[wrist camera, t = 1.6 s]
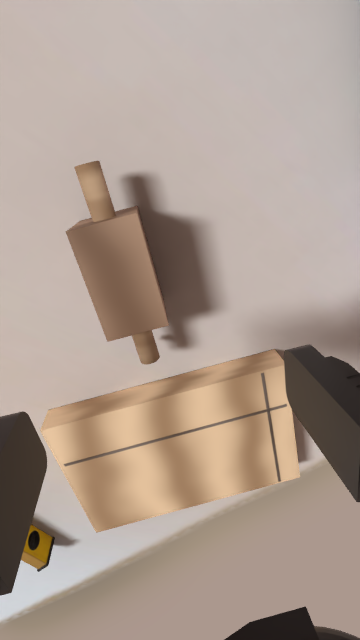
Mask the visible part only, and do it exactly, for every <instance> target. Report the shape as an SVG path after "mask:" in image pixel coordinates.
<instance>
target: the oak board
mask: <svg viewBox="0 0 360 640" xmlns="http://www.w3.org/2000/svg"><path fill="white" fill-rule="evenodd" d="M40 431H41V433H42V435H43V437H44V438H45V440H46V442H47V444H48V446H49V448H50V449H51V451H52V453H53V455H54V457H55V458H56V460H57V462H58V464H59V466H60V468H61V469H62V471H63V473H64V475H65V477H66V478H67V480H68V482H69V484H70V486H71V487H72V489H73V491H74V493H75V495H76V497H77V498H78V500H79V502H80V504H81V506H82V507H83V509H84V511H85V513H86V515H87V517H88V518H89V520H90V522H91V524H92V526H93V527H94V529H95V531H96V533H97V532H101V531H104V530H108V529H112V528H115V527H119V526H123V525H126V524H130V523H134V522H137V521H141V520H145V519H148V518H152V517H156V516H159V515H163V514H167V513H170V512H174V511H178V510H181V509H185V508H189V507H192V506H196V505H200V504H203V503H207V502H211V501H214V500H218V499H222V498H225V497H229V496H233V495H236V494H240V493H244V492H247V491H251V490H255V489H258V488H262V487H266V486H269V485H273V484H277V483H280V482H284V481H288V480H291V479H295V478H299V477H300V473H299V465H298V457H297V448H296V440H295V432H294V423H293V415H292V408H291V406H290V404H289V402H288V399H287V395H286V386H285V368H284V361H283V359H282V358H281V357H280V356H279V354H278V353H277V352H276V350H275V349H273V350H270V351H266V352H262V353H258V354H255V355H251V356H247V357H244V358H240V359H236V360H232V361H229V362H225V363H221V364H218V365H214V366H210V367H206V368H203V369H199V370H195V371H192V372H188V373H184V374H180V375H177V376H173V377H169V378H166V379H162V380H158V381H155V382H151V383H147V384H143V385H140V386H136V387H132V388H129V389H125V390H121V391H117V392H114V393H110V394H106V395H103V396H99V397H95V398H91V399H88V400H84V401H80V402H77V403H73V404H69V405H65V406H62V407H58V408H54V409H51V410H48V412H47V415H46V417H45V420H44V422H43V425H42V428H41V430H40Z"/></svg>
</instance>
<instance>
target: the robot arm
mask: <svg viewBox="0 0 360 640" xmlns="http://www.w3.org/2000/svg"><path fill="white" fill-rule="evenodd" d="M284 368H285V386H286V395H287V399H288V402H289V404H290V406H291V408H292V410H293V412H294V413H295V415H296V416H297V417H298V419H299V420H300V422H301V423H302V425H303V426H304V427H305V429H306V430H307V432H308V433H309V435H310V436H311V437H312V439H313V440H314V442H315V443H316V444H317V446H318V447H319V449H320V450H321V452H322V453H323V454H324V456H325V457H326V459H327V460H328V462H329V463H330V464H331V466H332V467H333V469H334V470H335V472H336V473H337V474H338V476H339V477H340V479H341V480H342V482H343V483H344V484H345V486H346V487H347V489H348V490H349V492H350V493H351V494H352V496H353V497H354V499H355V500H356V502H360V373H359V372H358V371H356V370H355V369H354V368H353V367H352V366H350V365H349V364H348V363H346V362H344V361H341V360H339V359H337V358H334V357H332V356H330V357H326V358H325V357H324V356H323V355H321V354H320V353H319V352H318V351H317V350H316V349H315V348H314V347H313V346H311V345H305V346H301V347H297V348H292V349H288V350H285V352H284ZM46 469H47V456H46V451H45V449H44V446H43V444H42V442H41V440H40V438H39V436H38V434H37V432H36V430H35V428H34V426H33V423H32V421H31V419H30V417H29V415H28V414H27V413H26V412H19V413H15V414H10V415H6V416H2V417H0V595H4V594H8V593H12V589H13V586H14V582H15V579H16V575H17V571H18V568H19V564H20V561H21V557H22V554H23V550H24V547H25V543H26V540H27V536H28V533H29V529H30V526H31V522H32V519H33V515H34V512H35V508H36V505H37V501H38V498H39V494H40V491H41V487H42V484H43V480H44V477H45V473H46ZM225 640H360V638H357V637H356V636H353V635H350V634H348V633H345V632H342V631H339V630H335V629H330V628H326V627H317V626H314V625H313V623H312V621H311V618H310V616H309V613H308V611H307V608H306V607H302V608H299V609H296V610H292V611H288V612H285V613H281V614H277V615H274V616H270V617H267V618H263V619H260V620H256V621H253V622H249V623H248V624H247V625H245V626H244V627H242V628H241V629H239V630H238V631H236V632H235V633H233V634H232V635H230V636H229V637H228V638H226V639H225Z"/></svg>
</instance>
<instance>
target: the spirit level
mask: <svg viewBox="0 0 360 640" xmlns="http://www.w3.org/2000/svg"><path fill="white" fill-rule="evenodd" d="M54 539H55V538H54V537H51V536H49V535H48V534H46V533H44V532H43V531H41V530H39V529H38V528H36V527H34V526H33V525H31V526H30V529H29V533H28V536H27V540H26V543H25V547H24V550H23V554H22V557H21V560H22V561H24V562H26V563H28V564H30V565H32V566H33V567H35V568H37V571H38V572H39V571H41V570H42V569H44V568H45V567H47V566H48V564H49V560H50V556H51V551H52V547H53V543H54Z"/></svg>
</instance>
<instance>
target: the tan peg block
mask: <svg viewBox="0 0 360 640" xmlns="http://www.w3.org/2000/svg"><path fill="white" fill-rule="evenodd" d="M75 170H76V173H77V176H78V179H79V182H80V185H81V188H82V191H83V194H84V197H85V200H86V202H87V205H88V208H89V211H90V214H91V217H92V218H89V219H85V220H82V221H80V222H78V223H77V224H76V225H74V226H73V227H72V228H70V229H69V230H68V231H66V234H67V236H68V239H69V242H70V244H71V247H72V249H73V252H74V255H75V257H76V260H77V263H78V265H79V268H80V270H81V273H82V276H83V278H84V281H85V284H86V286H87V289H88V292H89V294H90V297H91V299H92V302H93V305H94V307H95V310H96V313H97V315H98V318H99V320H100V323H101V326H102V328H103V331H104V334H105V336H106V339H107V342H108V341H112V340H116V339H120V338H123V337H127V336H131V335H132V337H133V340H134V343H135V346H136V349H137V352H138V355H139V358H140V361H141V363H142V364H151V363H154V362H156V361H157V360H158V359H159V357H160V356H159V353H158V349H157V346H156V343H155V340H154V336H153V333H152V330H153V329H157V328H161V327H164V326H168V325H169V324H168V319H167V314H166V309H165V304H164V299H163V295H162V292H161V288H160V285H159V281H158V278H157V274H156V270H155V267H154V263H153V260H152V256H151V253H150V249H149V245H148V242H147V238H146V235H145V231H144V228H143V224H142V220H141V217H140V213H139V210H138V206H134V207H131V208H127V209H123V210H119V211H116V212H115V211H114V207H113V204H112V201H111V198H110V194H109V191H108V188H107V185H106V182H105V178H104V175H103V172H102V169H101V165H100V162H99V161H94V162H90V163H86V164H82V165H79V166H76V167H75Z"/></svg>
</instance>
